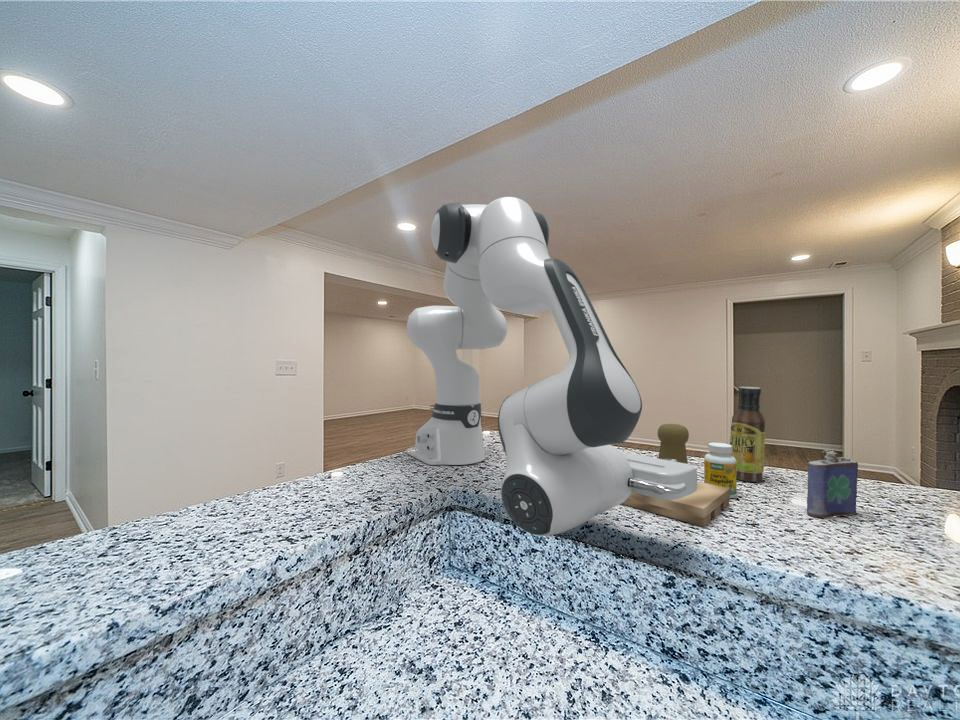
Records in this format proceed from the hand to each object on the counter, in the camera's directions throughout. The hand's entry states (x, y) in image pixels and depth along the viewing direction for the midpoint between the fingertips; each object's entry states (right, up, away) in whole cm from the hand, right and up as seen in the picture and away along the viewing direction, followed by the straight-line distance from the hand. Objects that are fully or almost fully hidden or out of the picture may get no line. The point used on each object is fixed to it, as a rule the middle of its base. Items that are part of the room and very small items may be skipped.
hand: (642, 458), depth 66 cm
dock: (+8, -10, +8) cm, 15 cm away
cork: (+9, -7, +9) cm, 15 cm away
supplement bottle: (+20, -10, +13) cm, 26 cm away
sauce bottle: (+31, -10, +22) cm, 40 cm away
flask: (+33, -10, +3) cm, 35 cm away
